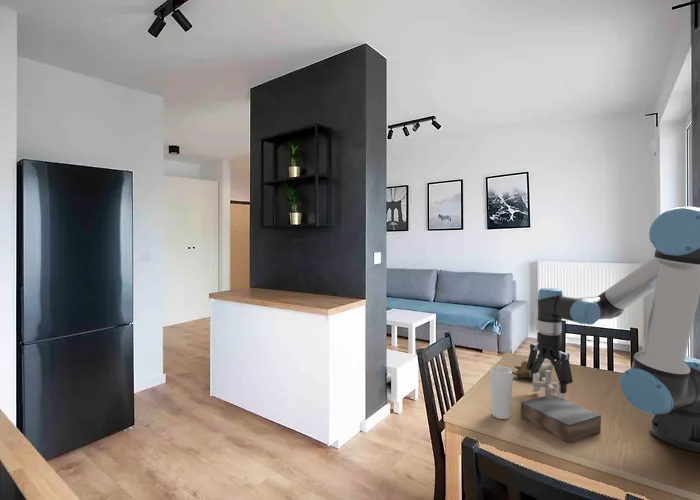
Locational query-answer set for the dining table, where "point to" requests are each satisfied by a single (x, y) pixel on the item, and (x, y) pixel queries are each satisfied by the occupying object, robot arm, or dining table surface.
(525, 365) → the ceramic sculpture
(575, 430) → the block
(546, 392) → the pipe connector
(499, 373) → the drinking glass
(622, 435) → the dining table surface
